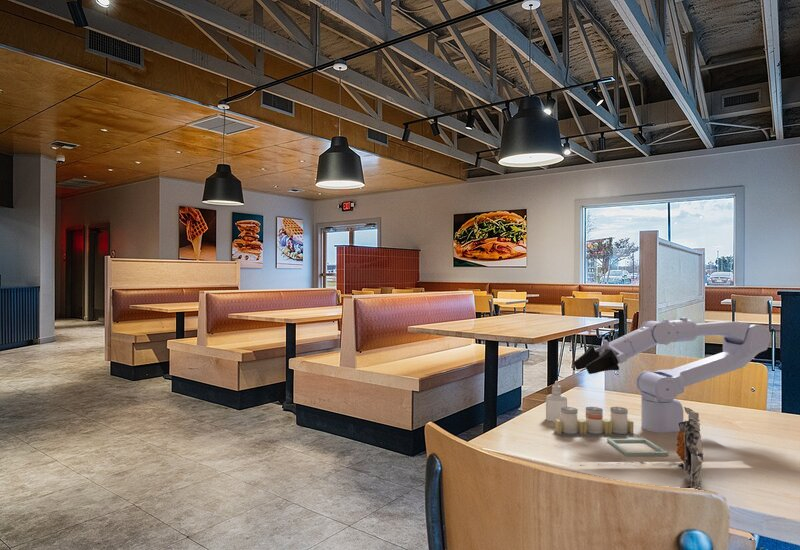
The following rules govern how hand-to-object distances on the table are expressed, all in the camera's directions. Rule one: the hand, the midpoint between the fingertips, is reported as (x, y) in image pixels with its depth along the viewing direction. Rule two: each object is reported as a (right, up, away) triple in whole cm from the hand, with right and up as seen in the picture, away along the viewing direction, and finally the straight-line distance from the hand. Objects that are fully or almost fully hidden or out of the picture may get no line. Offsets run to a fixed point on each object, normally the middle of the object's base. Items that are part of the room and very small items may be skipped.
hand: (581, 368), depth 130 cm
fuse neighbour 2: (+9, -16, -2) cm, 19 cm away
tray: (+8, -17, -14) cm, 23 cm away
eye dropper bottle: (-4, -18, +9) cm, 20 cm away
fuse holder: (+3, -17, -2) cm, 18 cm away
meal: (+11, -18, -29) cm, 36 cm away
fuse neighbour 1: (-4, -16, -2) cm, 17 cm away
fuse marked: (+3, -16, -2) cm, 16 cm away
